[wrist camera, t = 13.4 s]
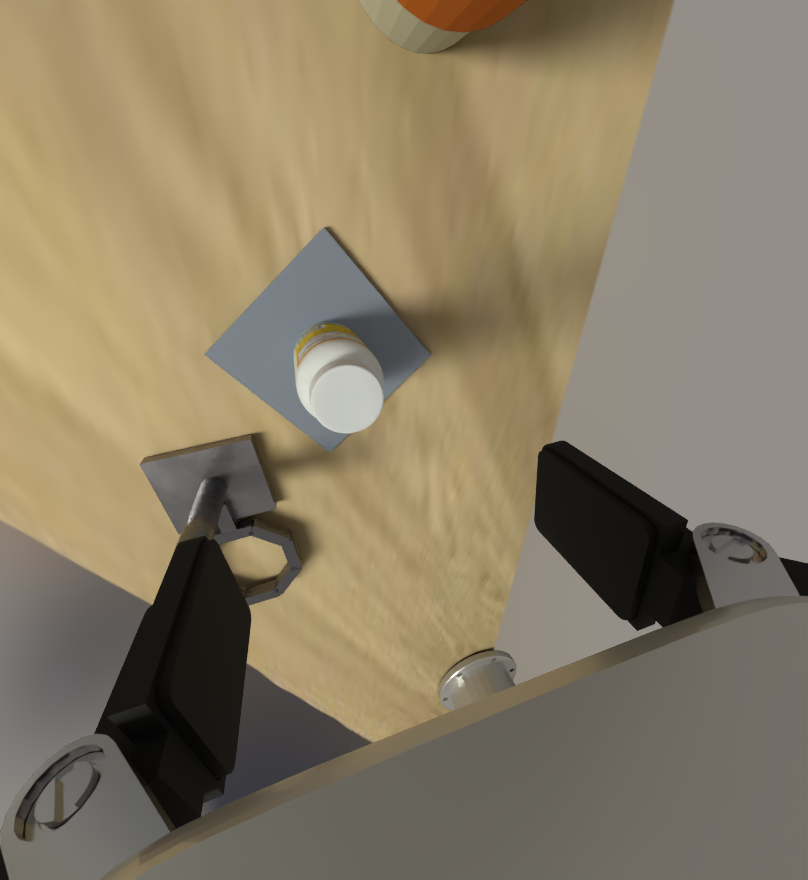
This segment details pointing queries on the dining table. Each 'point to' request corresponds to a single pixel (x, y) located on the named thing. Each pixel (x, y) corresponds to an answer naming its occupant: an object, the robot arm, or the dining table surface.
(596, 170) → the dining table surface
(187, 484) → the ring stand
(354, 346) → the supplement bottle
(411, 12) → the reusable coffee cup
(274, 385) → the rubber mat
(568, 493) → the robot arm
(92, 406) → the dining table surface
